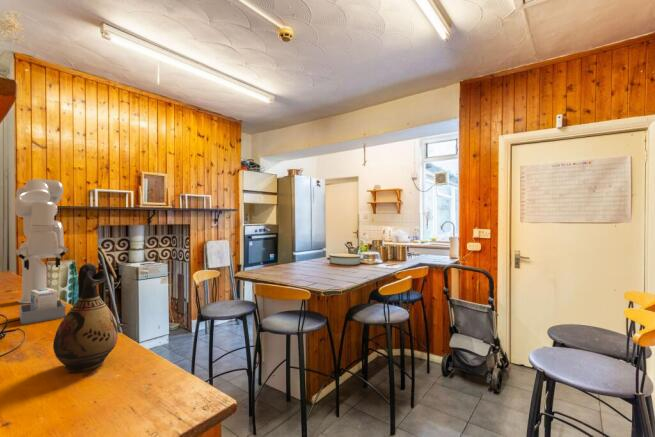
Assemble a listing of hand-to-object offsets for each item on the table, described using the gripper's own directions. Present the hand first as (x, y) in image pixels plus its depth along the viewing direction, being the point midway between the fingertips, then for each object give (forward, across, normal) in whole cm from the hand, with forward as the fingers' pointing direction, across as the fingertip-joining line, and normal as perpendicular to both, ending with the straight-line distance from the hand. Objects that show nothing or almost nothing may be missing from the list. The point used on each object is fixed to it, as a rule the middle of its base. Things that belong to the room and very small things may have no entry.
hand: (42, 268), depth 140 cm
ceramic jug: (+21, -5, +69) cm, 73 cm away
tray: (+22, 0, 0) cm, 22 cm away
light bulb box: (+21, 0, 0) cm, 21 cm away
